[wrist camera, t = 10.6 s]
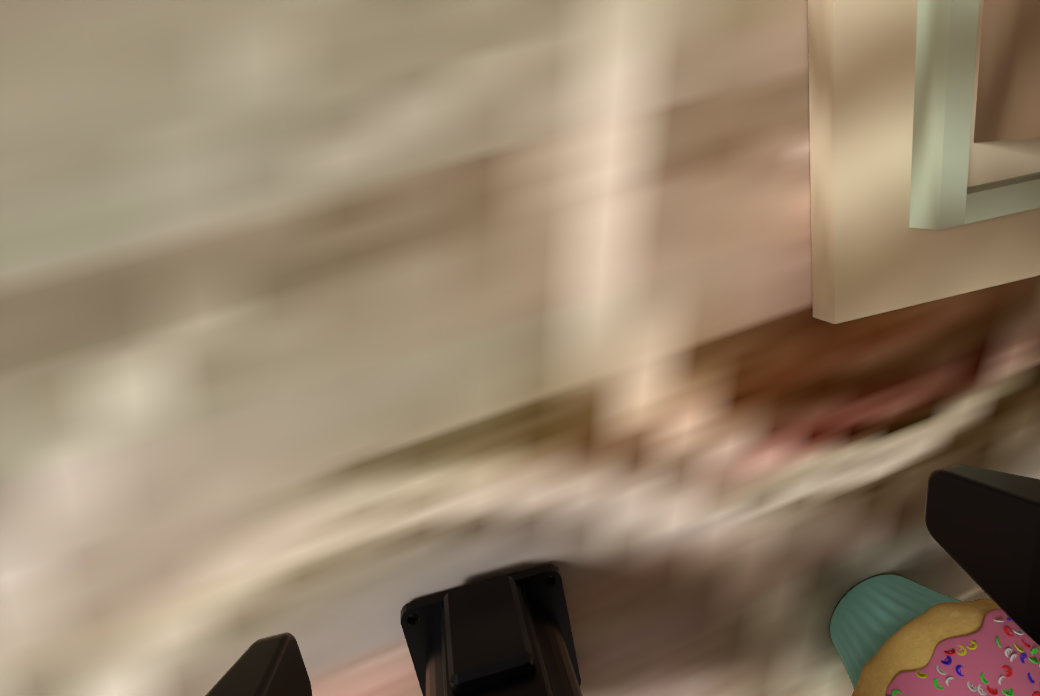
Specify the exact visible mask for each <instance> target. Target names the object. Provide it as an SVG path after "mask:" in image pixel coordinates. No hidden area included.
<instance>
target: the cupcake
mask: <svg viewBox="0 0 1040 696" xmlns="http://www.w3.org/2000/svg"><path fill="white" fill-rule="evenodd" d="M830 635H831V639H832V642H833V644H834V646H835V648H836V650H837V652H838V654H839V655H840V657H841V659H842V661H843V664H844V666H845V668H846V670H847V672H848V674H849V677H850V679H851V682H852V684H853V687H854V692H853V694H852V696H1040V646H1039V645H1037V644H1036V643H1035V642H1034V641H1033V640H1032V639H1031V638H1030V637H1029V636H1028V635H1027V634H1026V633H1025V632H1024V631H1022V630H1021V629H1020V628H1019V627H1018V625H1017V624H1016V623H1015V622H1014V621H1013V620H1012V619H1011V618H1010V617H1009V616H1008V615H1007V614H1006V613H1005V612H1004V611H1003V610H1002V609H1001V608H1000V607H999V606H998V605H997V604H996V603H995V602H994V601H992V600H989V599H978V600H975V601H971V602H964V601H960V600H957V599H954V598H951V597H948V596H945V595H943V594H940V593H938V592H935V591H933V590H931V589H928V588H926V587H924V586H921V585H919V584H917V583H915V582H913V581H910V580H908V579H906V578H904V577H901V576H897V575H880V576H875V577H872V578H869V579H867V580H865V581H863V582H861V583H860V584H858V585H856V586H855V587H854V588H852V589H851V590H850V591H849V592H848V593H847V594H846V595H845V596H844V597H843V598H842V600H841V601H840V602H839V604H838V605H837V607H836V609H835V611H834V613H833V616H832V619H831V624H830Z"/></svg>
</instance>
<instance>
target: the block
mask: <svg viewBox="0 0 1040 696" xmlns="http://www.w3.org/2000/svg"><path fill="white" fill-rule="evenodd" d="M1039 137H1040V0H984V3H983V17H982V31H981V45H980V59H979V73H978V87H977V101H976V115H975V129H974V143H976V142H989V141H1001V140H1014V139H1026V138H1039Z"/></svg>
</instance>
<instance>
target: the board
mask: <svg viewBox="0 0 1040 696" xmlns="http://www.w3.org/2000/svg"><path fill="white" fill-rule="evenodd" d="M983 3H984V0H808V48H809V111H810V173H811V235H812V297H813V317H814V318H817V319H820V320H823V321H826V322H829V323H833V324H838V323H842V322H846V321H850V320H854V319H858V318H863V317H867V316H871V315H875V314H879V313H884V312H888V311H892V310H896V309H900V308H905V307H909V306H913V305H917V304H921V303H926V302H930V301H934V300H938V299H942V298H946V297H951V296H955V295H959V294H963V293H967V292H972V291H976V290H980V289H984V288H988V287H993V286H997V285H1001V284H1005V283H1009V282H1014V281H1018V280H1022V279H1026V278H1030V277H1034V276H1039V275H1040V137H1039V138H1026V139H1014V140H1001V141H989V142H976V143H974V129H975V115H976V101H977V87H978V73H979V59H980V45H981V31H982V17H983Z"/></svg>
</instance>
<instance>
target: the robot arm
mask: <svg viewBox="0 0 1040 696" xmlns="http://www.w3.org/2000/svg"><path fill="white" fill-rule="evenodd" d="M925 523H926V526H927V529H928V531H929V532H930V534H931V536H932V537H933V538H934V539H935V540H936V541H937V542H938V543H939V544H940V545H941V547H942V548H943V549H944V550H945V551H946V552H947V553H948V554H949V555H950V556H951V557H952V558H953V559H954V560H955V561H956V562H957V563H958V564H959V565H960V566H961V567H962V568H963V569H964V571H965V572H966V573H967V574H968V575H969V576H970V577H971V578H972V579H973V580H974V581H975V582H976V583H977V584H978V585H979V586H980V587H981V588H982V589H983V590H984V591H985V592H986V594H987V595H988V596H989V597H990V598H991V599H992V600H993V601H994V602H995V603H996V604H997V605H998V606H999V607H1000V608H1001V609H1002V610H1003V611H1004V612H1005V613H1006V614H1007V615H1008V616H1009V617H1010V618H1011V619H1012V620H1013V621H1014V622H1015V623H1016V624H1017V625H1018V627H1019V628H1020V629H1021V630H1022V631H1024V632H1025V633H1026V634H1027V635H1028V636H1029V637H1030V638H1031V639H1032V640H1033V641H1034V642H1035V643H1036V644H1037V645H1039V646H1040V480H1039V479H1034V478H1029V477H1024V476H1019V475H1014V474H1008V473H1003V472H998V471H993V470H988V469H983V468H978V467H973V466H968V465H954V466H950V467H946V468H942V469H938V470H935V471H933V472H932V473H931V474H930V476H929V478H928V483H927V496H926V509H925ZM548 576H552V578H551V579H549V580H544V579H545V578H546V577H548ZM411 614H417V615H418V616H416V617H410V615H411ZM401 625H402V628H403V632H404V635H405V638H406V641H407V645H408V648H409V651H410V654H411V658H412V661H413V664H414V667H415V671H416V674H417V677H418V680H419V684H420V687H421V690H422V693H423V696H582V693H581V690H580V685H581V679H580V674H579V669H578V664H577V658H576V653H575V648H574V643H573V637H572V632H571V627H570V621H569V616H568V611H567V606H566V600H565V595H564V590H563V585H562V579H561V576H560V573H559V571H558V569H557V567H555V566H554V565H550V564H549V565H543V566H539V567H536V568H532V569H528V570H525V571H521V572H517V573H514V574H510V575H507V576H503V577H499V578H496V579H492V580H488V581H485V582H481V583H478V584H474V585H470V586H467V587H463V588H460V589H456V590H452V591H449V592H445V593H441V594H438V595H434V596H431V597H427V598H423V599H420V600H416V601H412V602H410V603H407V604H406V605H405V606H404V607H403V608H402V610H401ZM206 696H312V690H311V684H310V680H309V677H308V674H307V671H306V668H305V665H304V662H303V659H302V656H301V653H300V650H299V647H298V644H297V641H296V639H295V638H294V636H293V635H292V634H290V633H282V634H278V635H274V636H270V637H266V638H262V639H259V640H257V641H256V642H254V643H253V644H252V645H251V646H250V647H249V648H248V650H247V651H246V652H245V653H244V654H243V655H242V656H241V657H240V658H239V659H238V661H237V662H236V663H235V664H234V665H233V666H232V667H231V668H230V669H229V670H228V671H227V673H226V674H225V675H224V676H223V677H222V678H221V679H220V680H219V681H218V682H217V684H216V685H215V686H214V687H213V688H212V689H211V690H210V691H209V692H208V693H207V694H206Z"/></svg>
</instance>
